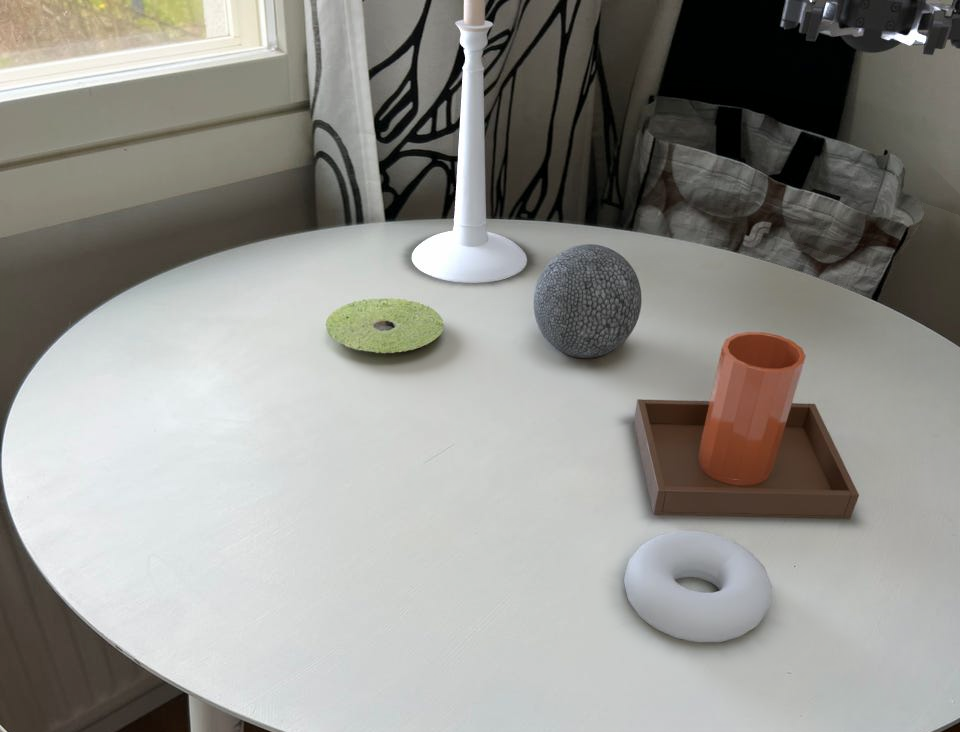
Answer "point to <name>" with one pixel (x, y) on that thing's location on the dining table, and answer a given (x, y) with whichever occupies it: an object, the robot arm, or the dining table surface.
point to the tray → (785, 494)
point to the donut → (692, 610)
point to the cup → (749, 407)
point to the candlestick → (471, 182)
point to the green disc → (384, 325)
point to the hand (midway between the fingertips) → (872, 31)
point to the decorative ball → (587, 301)
